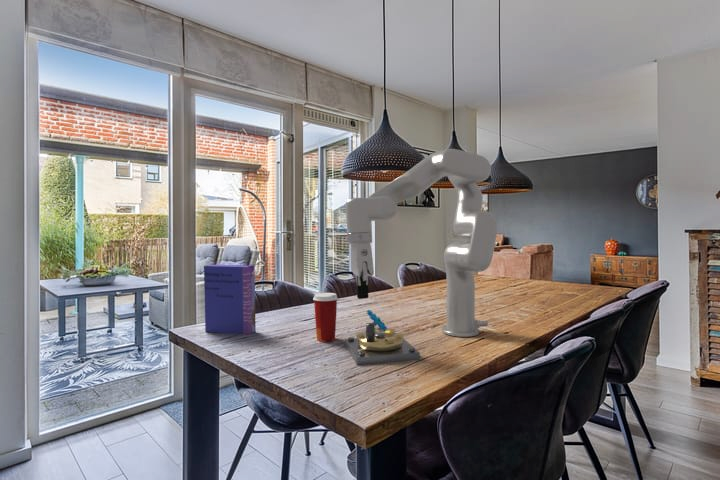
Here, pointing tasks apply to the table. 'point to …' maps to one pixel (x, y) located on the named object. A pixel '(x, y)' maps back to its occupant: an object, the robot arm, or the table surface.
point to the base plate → (380, 353)
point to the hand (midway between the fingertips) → (362, 297)
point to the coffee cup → (325, 316)
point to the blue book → (230, 299)
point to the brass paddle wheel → (379, 339)
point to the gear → (376, 320)
